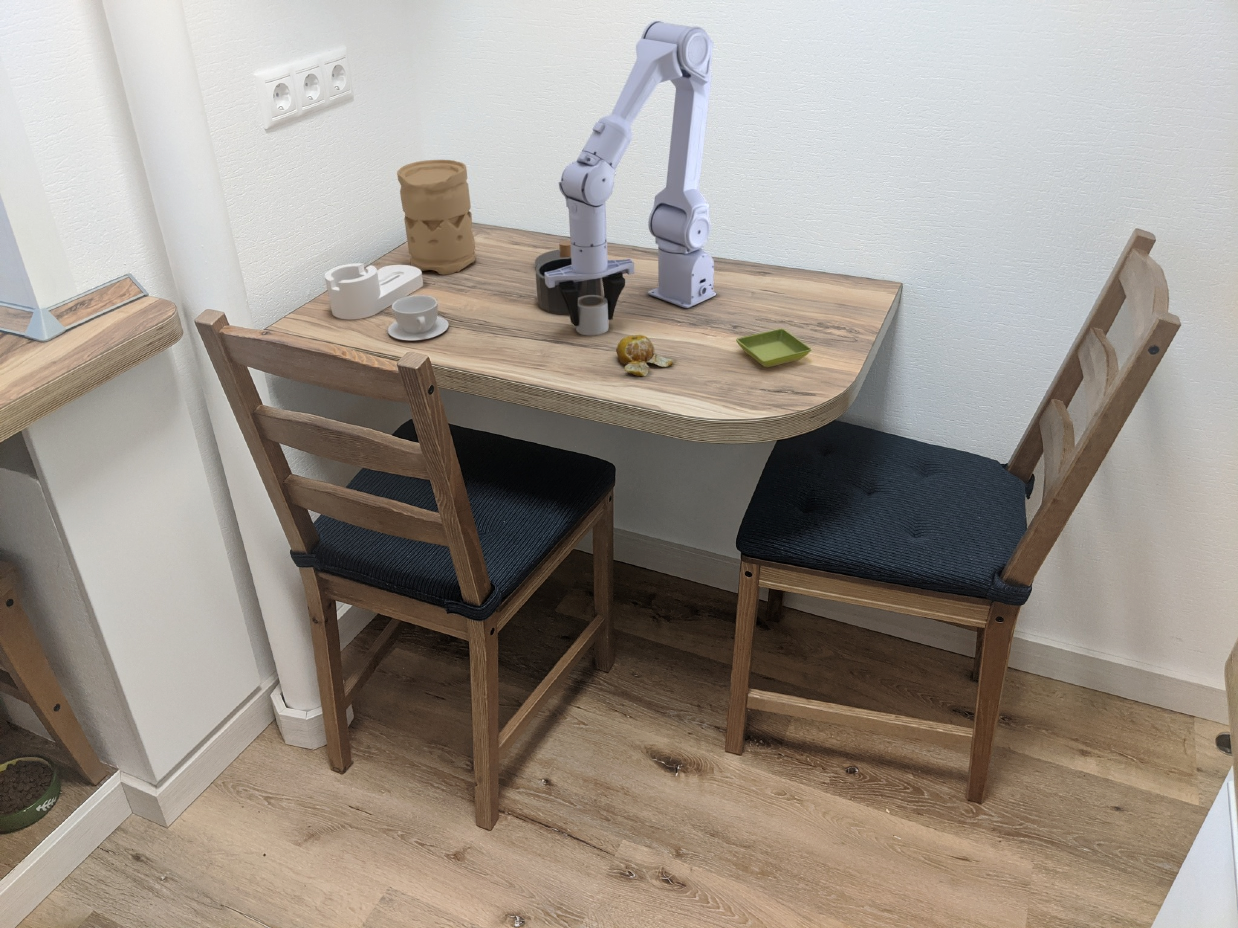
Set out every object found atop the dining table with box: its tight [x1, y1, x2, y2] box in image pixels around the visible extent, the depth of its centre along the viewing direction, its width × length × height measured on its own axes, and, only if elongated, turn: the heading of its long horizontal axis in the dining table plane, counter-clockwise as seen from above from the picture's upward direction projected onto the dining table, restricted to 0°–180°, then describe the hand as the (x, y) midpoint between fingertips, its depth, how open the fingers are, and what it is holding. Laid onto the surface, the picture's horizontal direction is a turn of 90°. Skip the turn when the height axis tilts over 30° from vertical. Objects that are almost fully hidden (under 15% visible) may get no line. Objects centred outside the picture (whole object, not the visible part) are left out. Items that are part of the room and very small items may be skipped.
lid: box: [534, 240, 571, 269], centre depth 181 cm, size 12×12×4 cm
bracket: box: [324, 262, 424, 321], centre depth 170 cm, size 20×9×7 cm, turn 153°
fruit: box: [615, 334, 675, 377], centre depth 146 cm, size 8×8×4 cm
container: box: [396, 159, 477, 275], centre depth 180 cm, size 13×13×18 cm
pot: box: [534, 257, 604, 316], centre depth 166 cm, size 11×11×6 cm
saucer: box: [735, 328, 812, 369], centre depth 147 cm, size 9×9×2 cm
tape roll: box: [575, 295, 610, 336], centre depth 157 cm, size 5×5×5 cm
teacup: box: [387, 294, 449, 341], centre depth 158 cm, size 10×10×5 cm
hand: (592, 320), depth 157 cm, fingers closed on tape roll, 5 cm apart
